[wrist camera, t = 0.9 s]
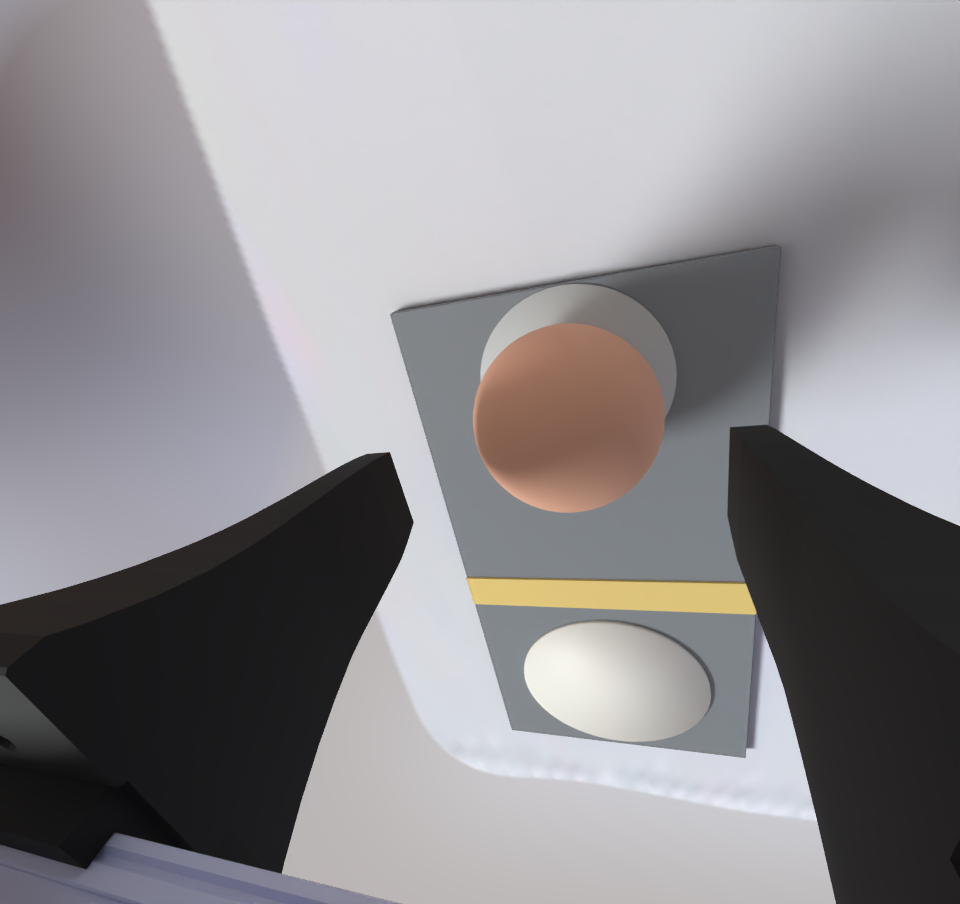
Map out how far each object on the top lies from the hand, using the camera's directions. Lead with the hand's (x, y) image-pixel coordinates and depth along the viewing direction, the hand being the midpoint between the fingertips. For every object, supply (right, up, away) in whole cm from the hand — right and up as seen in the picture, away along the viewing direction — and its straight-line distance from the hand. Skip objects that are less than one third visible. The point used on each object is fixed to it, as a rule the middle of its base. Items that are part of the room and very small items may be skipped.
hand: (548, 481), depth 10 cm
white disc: (+5, -10, +11) cm, 16 cm away
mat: (+3, -4, +9) cm, 10 cm away
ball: (+1, +2, +3) cm, 3 cm away
